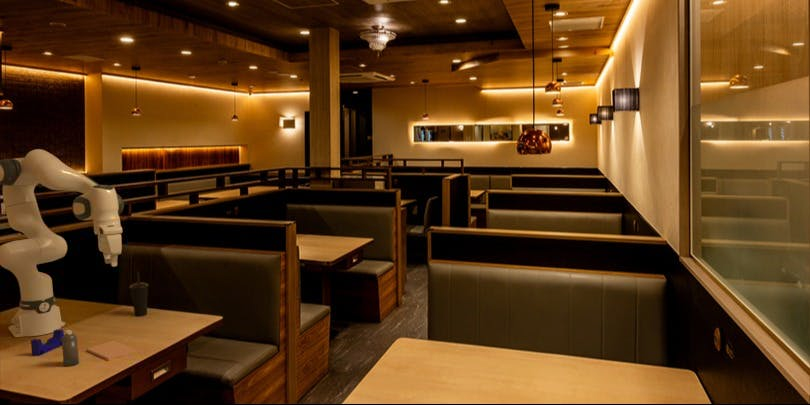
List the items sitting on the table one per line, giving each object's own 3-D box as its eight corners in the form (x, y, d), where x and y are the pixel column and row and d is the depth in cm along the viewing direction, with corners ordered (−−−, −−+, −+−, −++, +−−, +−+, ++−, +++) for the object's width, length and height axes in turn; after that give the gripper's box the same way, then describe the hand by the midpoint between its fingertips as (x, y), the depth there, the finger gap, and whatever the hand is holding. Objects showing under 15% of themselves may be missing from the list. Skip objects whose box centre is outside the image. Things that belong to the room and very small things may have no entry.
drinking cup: (144, 311, 258) (141, 268, 256) (153, 314, 254) (150, 270, 251) (128, 315, 252) (125, 272, 250) (137, 318, 247) (134, 274, 245)
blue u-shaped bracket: (54, 344, 218) (53, 329, 218) (64, 344, 218) (63, 329, 217) (28, 355, 207) (27, 340, 206) (39, 356, 206) (37, 340, 205)
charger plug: (61, 364, 198) (58, 331, 196) (75, 360, 201) (72, 327, 200) (67, 367, 195) (64, 333, 193) (81, 363, 199) (78, 329, 197)
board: (87, 351, 210) (86, 348, 210) (113, 343, 218) (113, 340, 218) (108, 360, 201) (108, 358, 201) (135, 351, 209) (135, 349, 209)
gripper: (92, 227, 215) (95, 263, 217) (104, 230, 200) (108, 269, 201) (110, 225, 219) (113, 260, 221) (123, 228, 204) (127, 266, 205)
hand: (111, 264), depth 211 cm, fingers open, 8 cm apart
